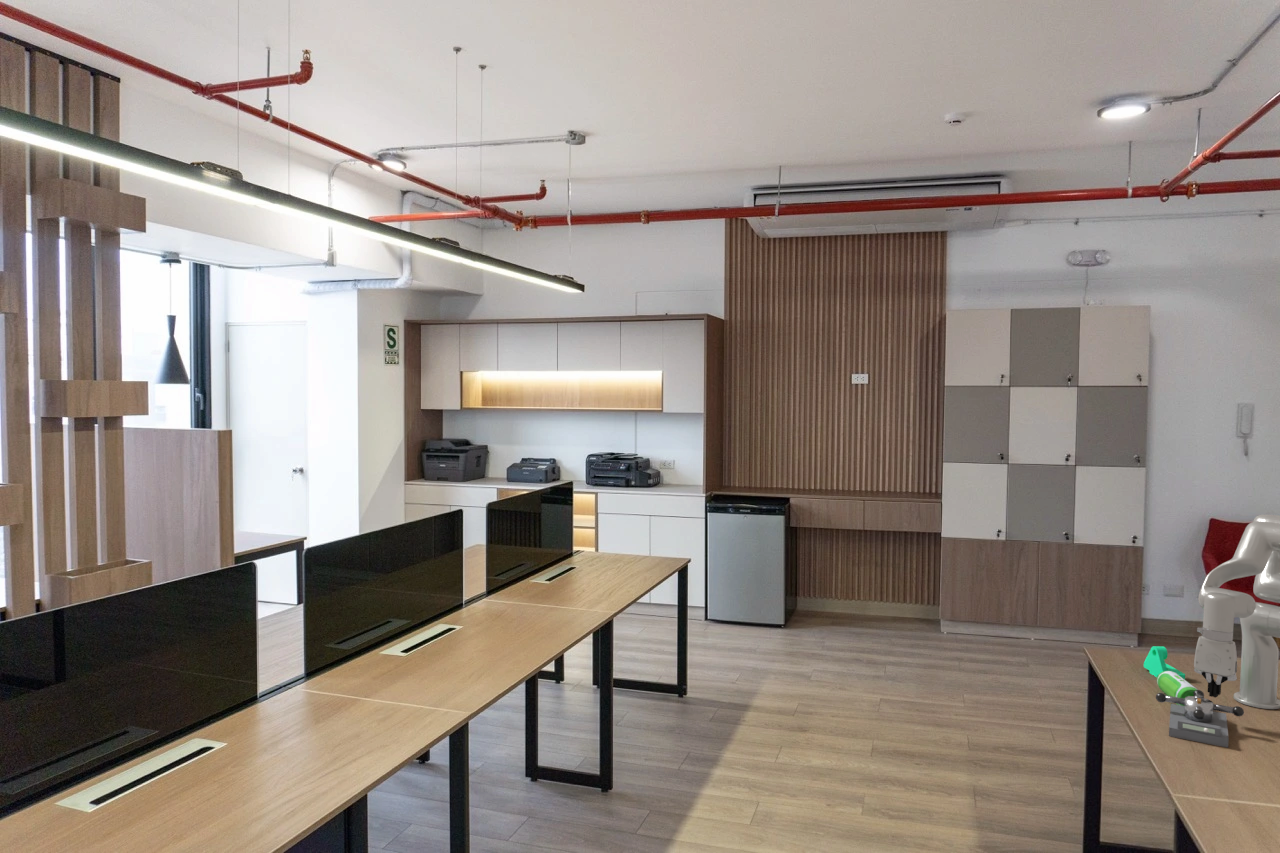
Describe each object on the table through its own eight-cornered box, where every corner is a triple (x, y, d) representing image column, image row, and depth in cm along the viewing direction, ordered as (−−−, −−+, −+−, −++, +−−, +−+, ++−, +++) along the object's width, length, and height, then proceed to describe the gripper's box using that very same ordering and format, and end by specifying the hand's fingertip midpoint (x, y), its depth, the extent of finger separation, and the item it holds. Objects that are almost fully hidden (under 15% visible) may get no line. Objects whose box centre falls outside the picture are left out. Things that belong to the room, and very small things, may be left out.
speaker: (1203, 712, 264) (1205, 688, 264) (1177, 710, 266) (1179, 686, 265) (1178, 692, 282) (1179, 669, 281) (1154, 690, 283) (1155, 668, 282)
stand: (1170, 711, 265) (1171, 696, 264) (1225, 721, 257) (1226, 706, 257) (1168, 736, 246) (1169, 720, 245) (1228, 748, 238) (1229, 731, 238)
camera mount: (1186, 682, 292) (1187, 652, 291) (1163, 681, 292) (1164, 652, 291) (1165, 670, 304) (1166, 641, 303) (1143, 670, 304) (1144, 641, 303)
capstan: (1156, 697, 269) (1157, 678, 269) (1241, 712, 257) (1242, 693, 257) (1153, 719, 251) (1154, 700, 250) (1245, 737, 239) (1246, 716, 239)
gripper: (1184, 631, 259) (1181, 691, 260) (1244, 643, 248) (1240, 706, 249) (1192, 627, 264) (1189, 686, 265) (1250, 638, 253) (1247, 700, 254)
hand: (1213, 695), depth 257 cm, fingers closed
